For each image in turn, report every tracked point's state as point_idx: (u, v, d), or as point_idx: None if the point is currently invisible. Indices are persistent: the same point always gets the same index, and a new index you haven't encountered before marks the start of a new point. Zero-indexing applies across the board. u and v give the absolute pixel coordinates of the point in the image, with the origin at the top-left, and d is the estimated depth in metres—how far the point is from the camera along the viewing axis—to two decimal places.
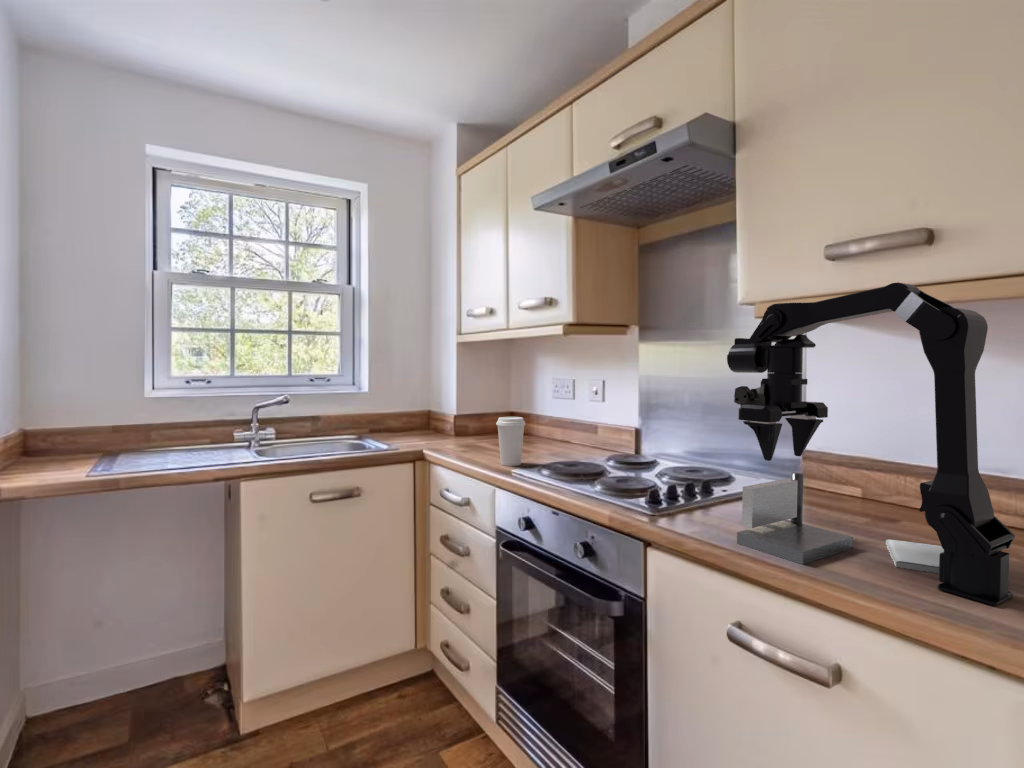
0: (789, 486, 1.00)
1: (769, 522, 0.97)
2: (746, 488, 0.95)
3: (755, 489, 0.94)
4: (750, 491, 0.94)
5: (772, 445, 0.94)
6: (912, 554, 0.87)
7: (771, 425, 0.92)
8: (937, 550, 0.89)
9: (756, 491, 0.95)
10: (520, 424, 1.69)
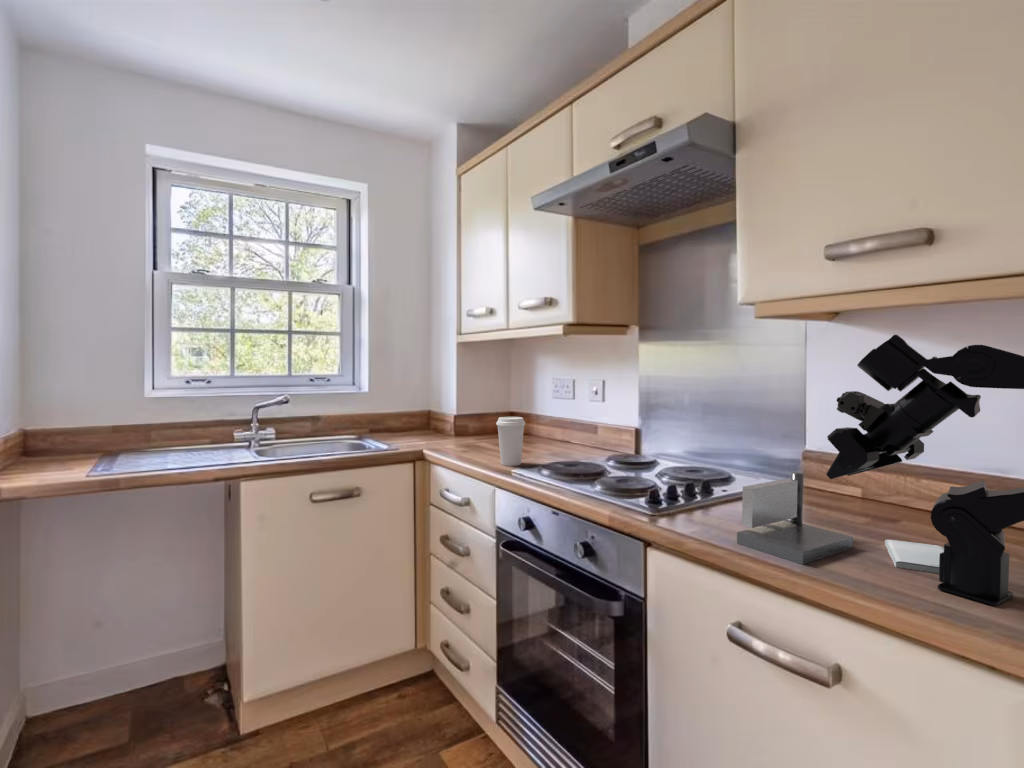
0: (789, 486, 1.00)
1: (769, 522, 0.97)
2: (746, 488, 0.95)
3: (755, 489, 0.94)
4: (750, 491, 0.94)
5: (845, 474, 0.84)
6: (912, 554, 0.87)
7: (862, 467, 0.80)
8: (936, 550, 0.89)
9: (756, 491, 0.95)
10: (520, 424, 1.69)
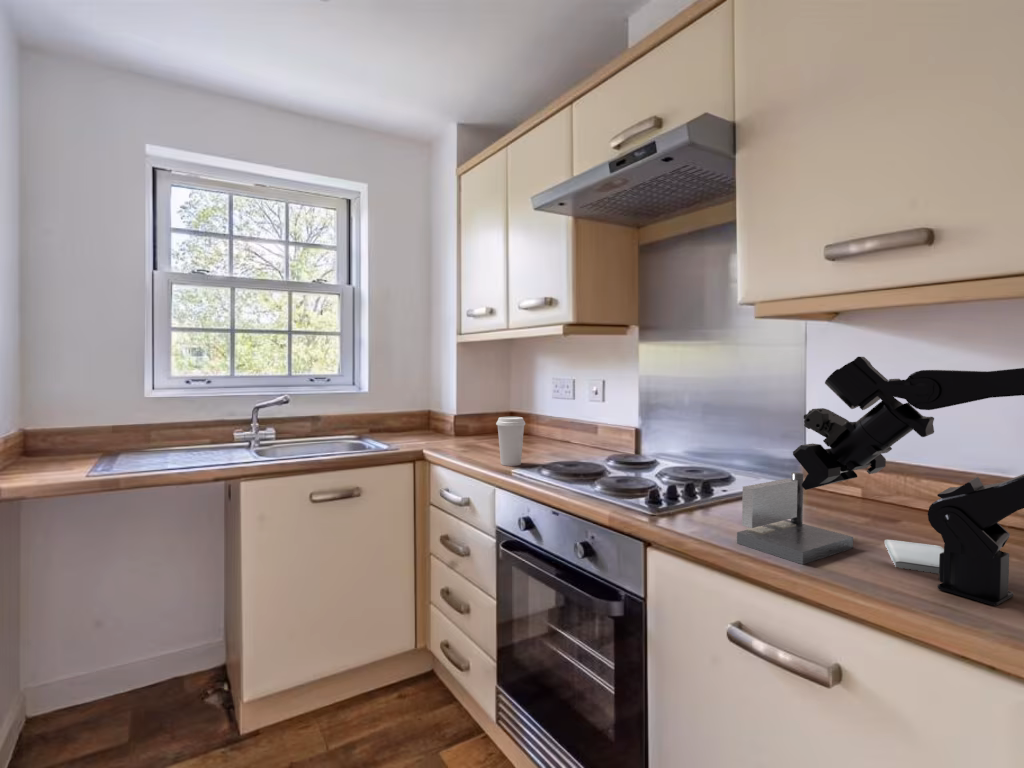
0: (789, 486, 1.00)
1: (769, 522, 0.97)
2: (746, 488, 0.95)
3: (755, 489, 0.94)
4: (750, 491, 0.94)
5: (818, 485, 0.90)
6: (911, 554, 0.87)
7: (833, 480, 0.86)
8: (936, 550, 0.89)
9: (756, 491, 0.95)
10: (520, 424, 1.69)
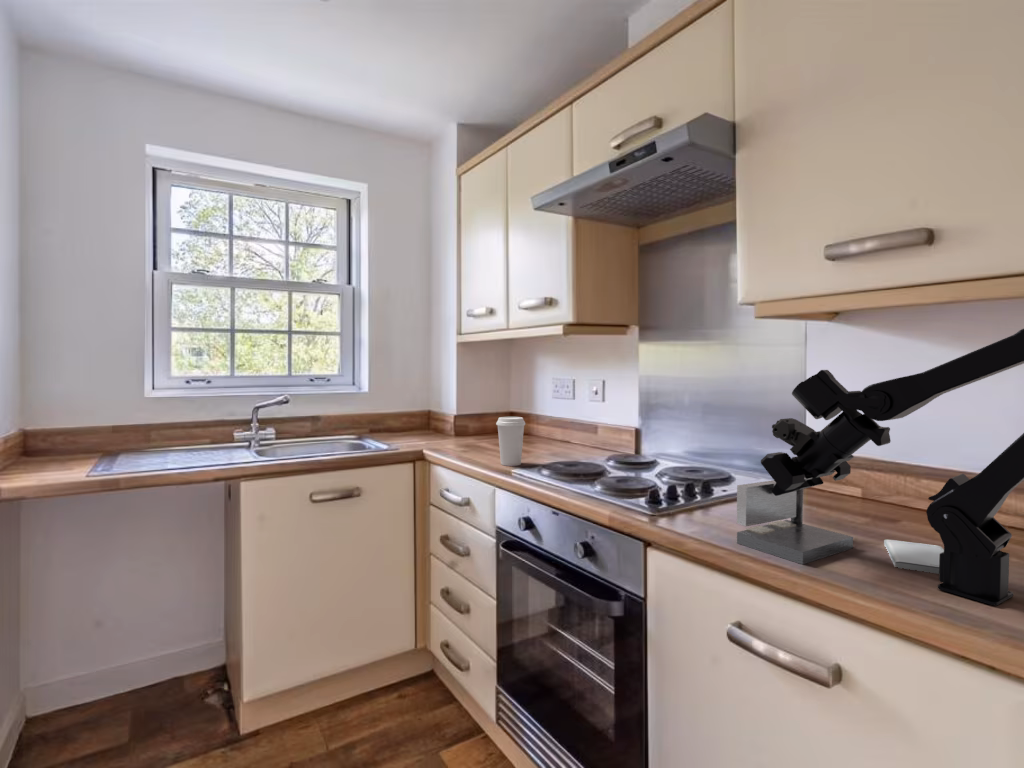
0: None
1: (765, 521, 0.97)
2: (740, 487, 0.96)
3: (749, 488, 0.95)
4: (744, 490, 0.95)
5: (786, 492, 0.95)
6: (911, 554, 0.87)
7: (799, 487, 0.90)
8: (935, 550, 0.89)
9: (750, 490, 0.96)
10: (520, 424, 1.69)
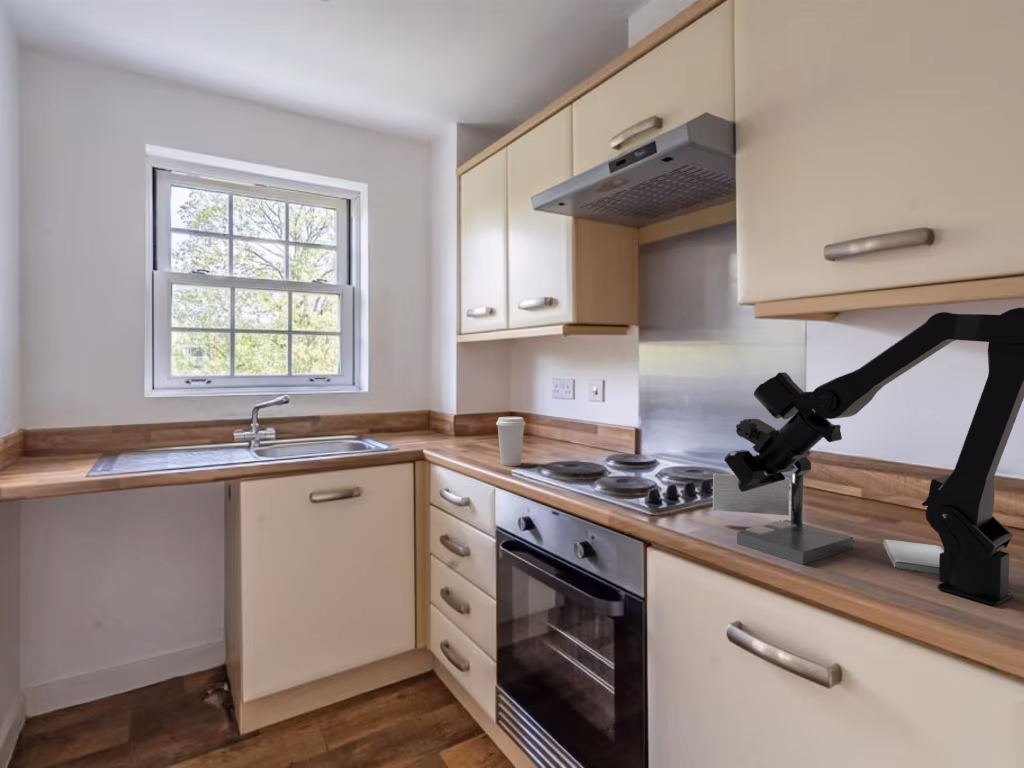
0: (775, 482, 1.03)
1: (740, 510, 1.05)
2: (713, 474, 1.07)
3: (718, 476, 1.06)
4: (713, 477, 1.06)
5: (751, 487, 1.01)
6: (910, 554, 0.87)
7: (761, 482, 0.97)
8: (935, 550, 0.89)
9: (719, 478, 1.06)
10: (520, 424, 1.69)
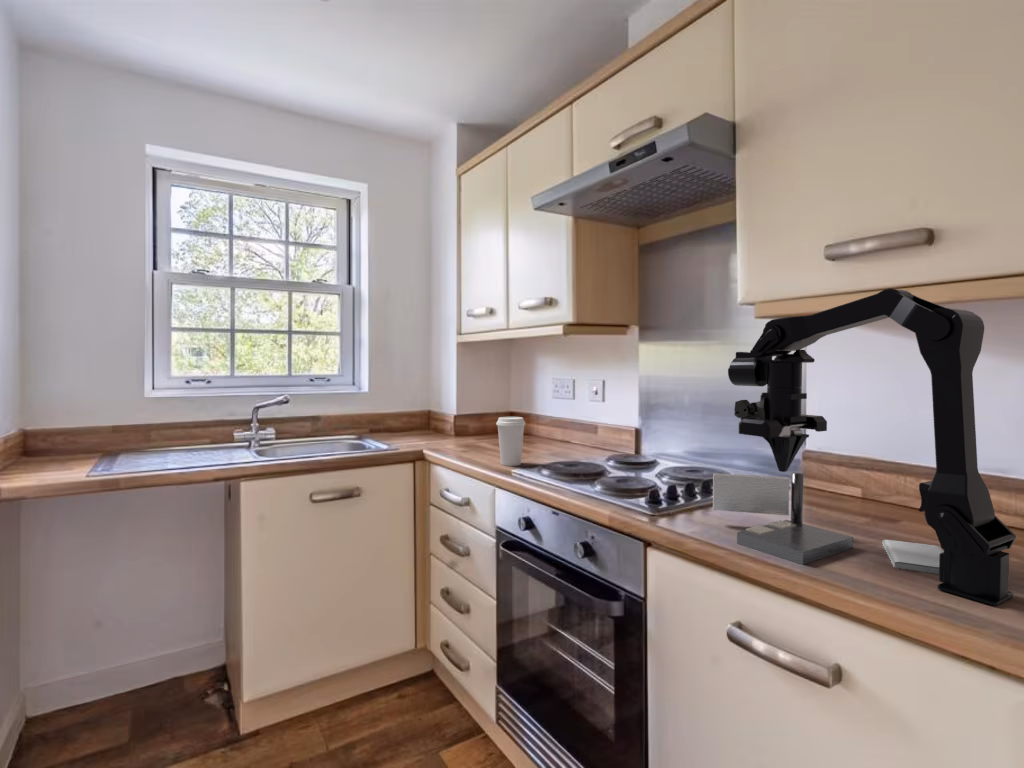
0: (775, 482, 1.03)
1: (740, 510, 1.05)
2: (713, 474, 1.07)
3: (718, 476, 1.06)
4: (713, 477, 1.06)
5: (786, 457, 0.97)
6: (910, 554, 0.87)
7: (786, 438, 0.95)
8: (934, 550, 0.89)
9: (719, 478, 1.06)
10: (520, 424, 1.69)
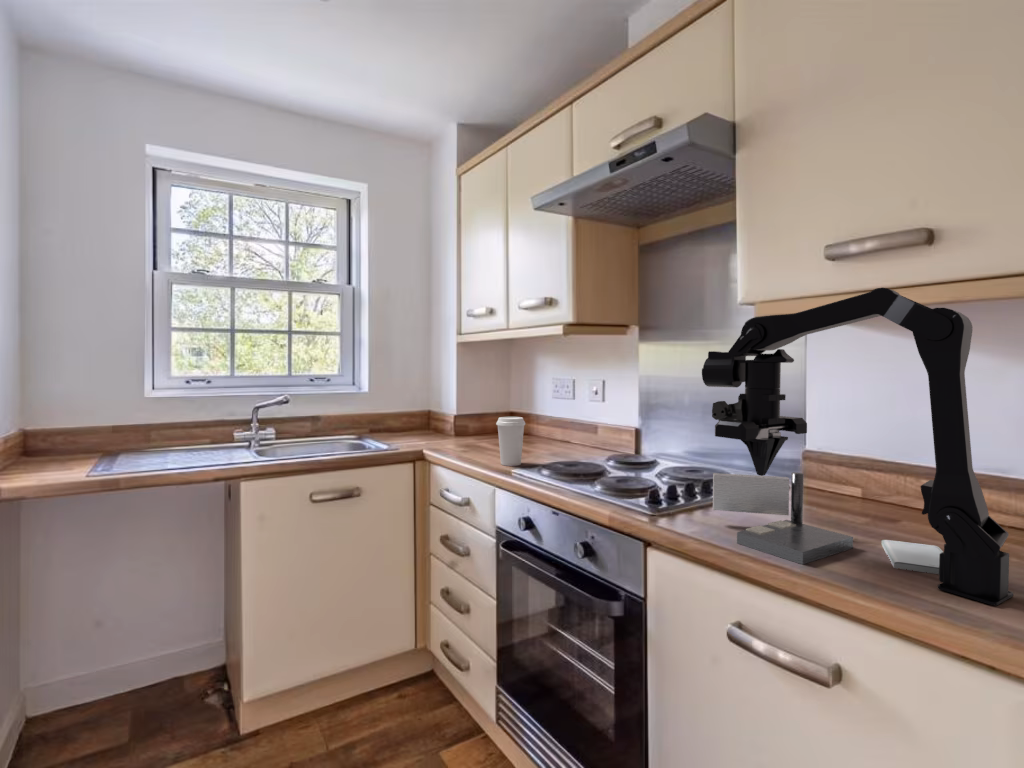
0: (775, 482, 1.03)
1: (740, 510, 1.05)
2: (713, 474, 1.07)
3: (718, 476, 1.06)
4: (713, 477, 1.06)
5: (764, 460, 0.94)
6: (909, 554, 0.87)
7: (763, 441, 0.92)
8: (933, 550, 0.89)
9: (719, 478, 1.06)
10: (520, 424, 1.69)
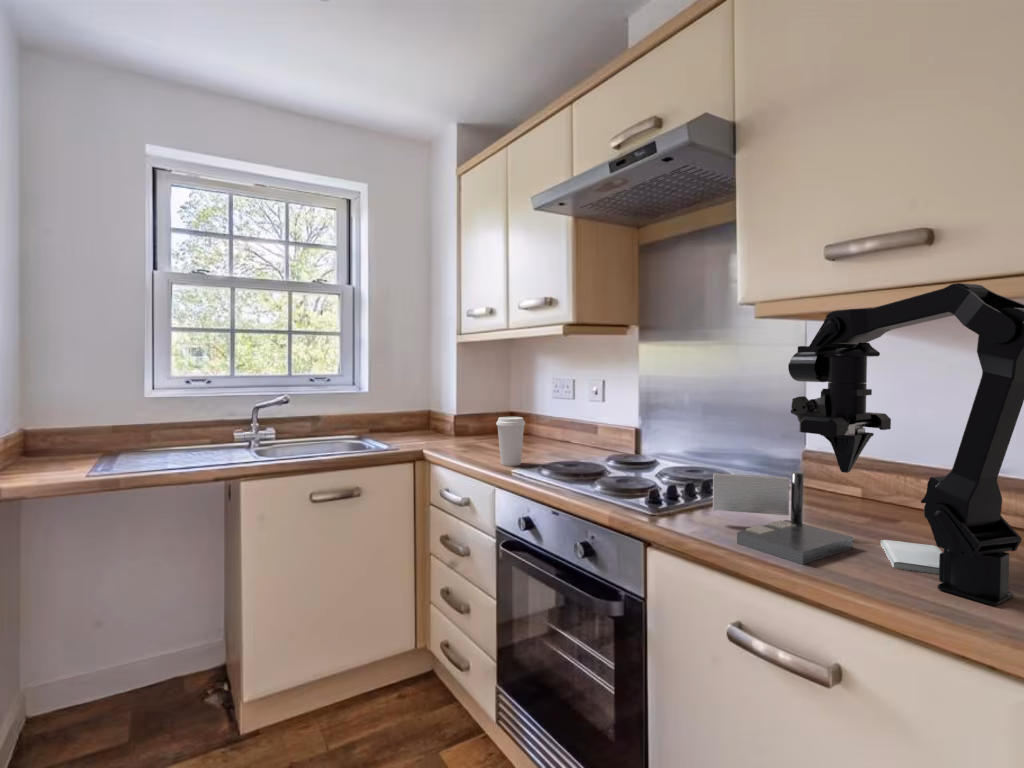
0: (775, 482, 1.03)
1: (740, 510, 1.05)
2: (713, 474, 1.07)
3: (718, 476, 1.06)
4: (713, 477, 1.06)
5: (850, 457, 0.92)
6: (909, 554, 0.87)
7: (851, 436, 0.89)
8: (932, 550, 0.89)
9: (719, 478, 1.06)
10: (520, 424, 1.69)
